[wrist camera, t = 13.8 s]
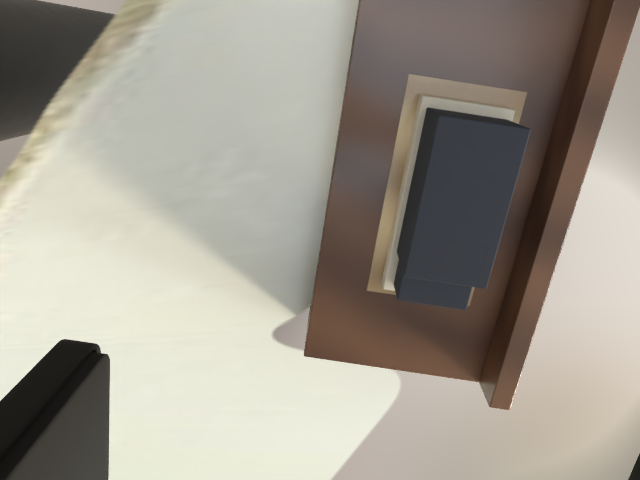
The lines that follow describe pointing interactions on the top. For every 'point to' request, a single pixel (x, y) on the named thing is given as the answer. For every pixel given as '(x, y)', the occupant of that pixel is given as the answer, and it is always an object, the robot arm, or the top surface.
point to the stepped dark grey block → (453, 200)
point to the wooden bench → (528, 197)
